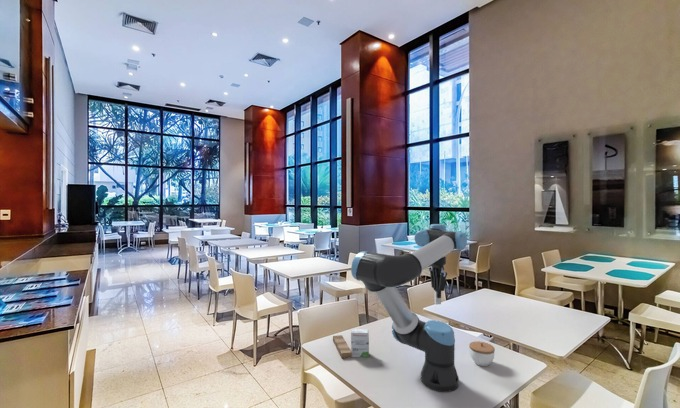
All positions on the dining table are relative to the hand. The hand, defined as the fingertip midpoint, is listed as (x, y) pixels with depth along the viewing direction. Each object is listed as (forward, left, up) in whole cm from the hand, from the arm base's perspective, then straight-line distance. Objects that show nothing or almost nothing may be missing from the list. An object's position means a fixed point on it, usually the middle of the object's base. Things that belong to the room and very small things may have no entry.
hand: (437, 303), depth 157 cm
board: (+16, +45, -24) cm, 53 cm away
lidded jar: (-13, -15, -25) cm, 32 cm away
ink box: (+8, +37, -25) cm, 45 cm away
